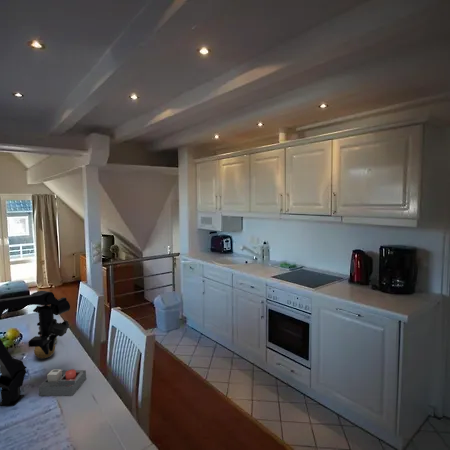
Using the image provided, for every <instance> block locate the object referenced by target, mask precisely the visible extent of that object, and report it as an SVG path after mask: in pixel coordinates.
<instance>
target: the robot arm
mask: <svg viewBox="0 0 450 450" xmlns="http://www.w3.org/2000/svg"><path fill="white" fill-rule="evenodd" d="M26 306H27V307H28V306H36V307H35V308H34V309H33V310H32V312H33V313H38V322H37V323H36V326H38V327H39V326H40V331H38V332H37V335H38V336H33V337H32V338H31V339H29V340H28V342H27V344H28V345H27V346H28V348H35V347H40V348H41V349H42V350H43V351H44V353H45V354H46V355H48V354H49V350H50V351H53V347H54V343H55V340H56V337H63V336H64V335H65V334H67V331H68V329H69V328H70V326H69V321H68V320H64V321H62V322H58V320H57V319H56V318H55V317H54V316H59V315H61V314H65V313H66V312H69V311H70V310H71V304H70V303H69V301H68V300H67V297H61V298H59V299H58V298H56V297H55V293H54V292H52V291H48V290H47V291H46V290H38V291H36V292H33V293H31V294H29V295H23V296H22V295H21V296H16V297H15V296H14V297H7V298H2V299H1V298H0V319H1V318H2V316H3V313H4V312H5V311H6V310H9V309H14V308H16V309H17V308H21V307H26ZM40 335H42V336H40ZM26 369H27V366H25V364H24V362H23V360H20V359H18V358H14V357H13V356H12V355H11V353H10V352H9V350H8V349H7V347H6V346H5V344H4V343H3V341H2V339H1V338H0V389H1V390H0V398H1V399H0V400H1V401H0V407H11V406H12V407H14V406H15V405H16V404H17V403H18V402H19V401H20V400H22V399H23V398H24V397H25V394H22V393H21V387H22V386H23V383H24V379H25V376H26V374H27V370H26Z"/></svg>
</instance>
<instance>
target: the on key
mask: <svg viewBox="0 0 450 450" xmlns="http://www.w3.org/2000/svg"><path fill="white" fill-rule="evenodd" d="M62 371H63V370H62V369H51V371H49V373H48V374H46V376H47V377H46V379H48V382H58V381H59V380H60V378H61V377H62Z"/></svg>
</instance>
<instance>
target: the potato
mask: <svg viewBox="0 0 450 450" xmlns="http://www.w3.org/2000/svg"><path fill="white" fill-rule="evenodd" d="M33 351H34V352H33V353H34V356H36V357H37V358H38V359H47V358H49V357H51V356H52V355H53V354H54V352H55V351H56V344H54V347H53V351H50V350H49V354H48V355H46V354H45V353H44V351H43V350H42V349H41V348H40V347H34V350H33Z"/></svg>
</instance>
